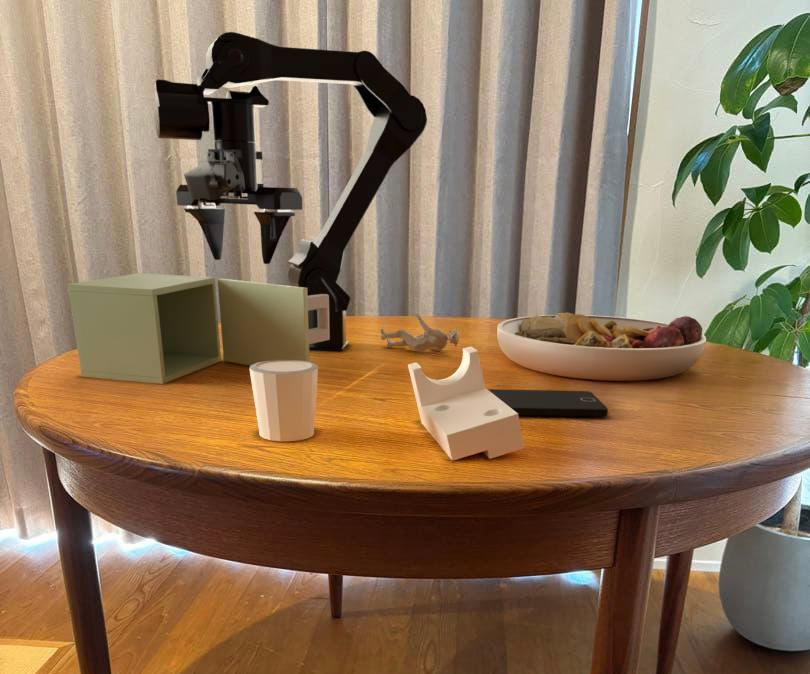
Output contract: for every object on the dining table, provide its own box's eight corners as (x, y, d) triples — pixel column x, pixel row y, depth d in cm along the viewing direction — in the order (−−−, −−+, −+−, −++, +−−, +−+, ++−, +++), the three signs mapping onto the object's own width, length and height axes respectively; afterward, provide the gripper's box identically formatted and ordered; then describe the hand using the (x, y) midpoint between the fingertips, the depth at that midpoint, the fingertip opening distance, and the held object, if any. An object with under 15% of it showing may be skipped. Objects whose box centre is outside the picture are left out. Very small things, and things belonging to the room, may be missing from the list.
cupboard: (221, 361, 111) (215, 277, 106) (163, 384, 97) (152, 289, 92) (148, 355, 114) (138, 273, 109) (81, 377, 100) (67, 284, 95)
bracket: (423, 430, 84) (407, 364, 81) (484, 412, 85) (470, 346, 81) (454, 469, 73) (437, 394, 69) (524, 448, 73) (510, 372, 70)
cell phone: (608, 417, 87) (609, 409, 86) (450, 414, 86) (451, 406, 86) (589, 398, 95) (590, 390, 94) (445, 395, 94) (445, 388, 94)
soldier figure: (395, 350, 126) (464, 331, 122) (395, 374, 124) (466, 356, 120) (376, 321, 120) (449, 300, 116) (377, 346, 118) (451, 325, 114)
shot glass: (326, 425, 82) (324, 360, 79) (312, 445, 76) (310, 374, 73) (263, 422, 82) (259, 357, 79) (245, 441, 76) (240, 371, 73)
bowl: (470, 372, 107) (473, 315, 104) (522, 339, 133) (526, 292, 129) (694, 396, 97) (705, 333, 94) (704, 355, 123) (713, 304, 119)
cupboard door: (257, 353, 116) (253, 275, 111) (339, 367, 108) (337, 283, 103) (223, 361, 110) (217, 278, 106) (306, 376, 103) (303, 288, 98)
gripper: (141, 138, 103) (154, 260, 110) (250, 137, 95) (257, 269, 102) (199, 143, 112) (207, 256, 119) (303, 143, 104) (306, 264, 111)
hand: (241, 261), depth 112 cm, fingers open, 9 cm apart
